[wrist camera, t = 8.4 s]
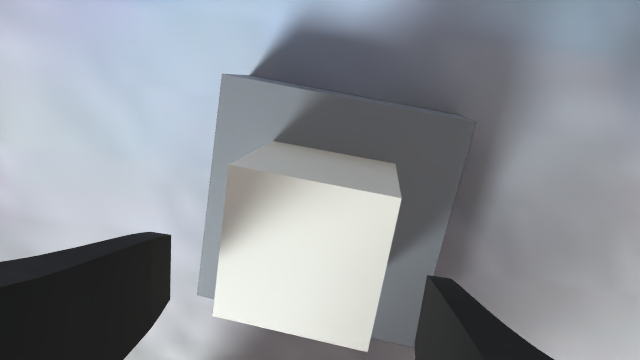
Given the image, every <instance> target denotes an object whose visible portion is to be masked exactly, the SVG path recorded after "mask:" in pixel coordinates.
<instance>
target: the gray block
mask: <svg viewBox="0 0 640 360" xmlns="http://www.w3.org/2000/svg"><path fill="white" fill-rule="evenodd" d="M475 124H476V122H474V121H472V120H470V119H467V118H465V117H462V116H460V115H456V114H451V113H446V112H441V111H435V110H430V109H425V108H419V107H414V106H409V105H404V104H398V103H393V102H388V101H382V100H377V99H372V98H367V97H361V96H356V95H351V94H345V93H340V92H335V91H330V90H324V89H319V88H314V87H308V86H303V85H298V84H292V83H287V82H282V81H277V80H271V79H266V78H261V77H255V76H250V75H233V74H222V79H221V87H220V96H219V105H218V114H217V123H216V132H215V140H214V149H213V158H212V167H211V176H210V185H209V194H208V202H207V211H206V220H205V229H204V238H203V247H202V255H201V264H200V273H199V282H198V291H197V295H198V296H203V297H207V298H211V299H214V298H215V288H216V279H217V269H218V260H219V251H220V241H221V232H222V222H223V213H224V204H225V194H226V185H227V175H228V166H229V164H231V163H233V162H235V161H237V160H238V159H240V158H242V157H244V156H246V155H248V154H250V153H251V152H253V151H255V150H257V149H259V148H261V147H262V146H264V145H266V144H268V143H270V142H272V141H276V142H281V143H287V144H292V145H297V146H303V147H308V148H314V149H319V150H324V151H330V152H335V153H340V154H346V155H351V156H357V157H362V158H367V159H373V160H378V161H384V162H389V163H394V164H395V165H396V170H397V176H398V181H399V187H400V192H401V198H402V199H401V204H400V208H399V213H398V217H397V222H396V226H395V231H394V235H393V240H392V244H391V249H390V253H389V258H388V262H387V267H386V271H385V276H384V280H383V285H382V289H381V294H380V298H379V303H378V307H377V312H376V316H375V321H374V325H373V330H372V334H371V338H375V339H379V340H383V341H387V342H391V343H395V344H400V345H404V346H408V347H412V348H414V344H415V338H416V332H417V327H418V321H419V316H420V310H421V305H422V300H423V294H424V289H425V283H426V278H427V275H429V276H434V272H435V268H436V265H437V261H438V258H439V254H440V250H441V247H442V243H443V240H444V236H445V232H446V229H447V225H448V221H449V218H450V214H451V211H452V207H453V203H454V200H455V196H456V192H457V189H458V185H459V182H460V178H461V174H462V171H463V167H464V164H465V160H466V156H467V153H468V149H469V145H470V142H471V138H472V135H473V131H474V127H475Z"/></svg>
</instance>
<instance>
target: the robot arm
mask: <svg viewBox="0 0 640 360" xmlns="http://www.w3.org/2000/svg"><path fill="white" fill-rule="evenodd" d="M170 270H171V235H168V234H161V233H155V232H144V233H137V234H131V235H127V236H122V237H118V238H113V239H109V240H105V241H101V242H97V243H93V244H88V245H84V246H80V247H76V248H71V249H66V250H62V251H57V252H52V253H48V254H43V255H39V256H33V257H28V258H22V259H16V260H10V261H3V262H0V360H123V359H124V358H125V357H126V356H127V355H128V354H129V353H130V352H131V351H132V349H133V348H134V347H135V346H136V345H137V344H138V343H139V341H140V340H141V339H142V338H143V337H144V336H145V335H146V333H147V332H148V331H149V330H150V329H151V328H152V326H153V325H154V323H155V322H156V320H157V319H158V317H159V316H160V315H161V313H162V311H163V310H164V308H165V307H166V305H167V303H168V302H169V300H170ZM415 360H554V359H552V358H551V357H549V356H548V355H546V354H545V353H543V352H542V351H540V350H538V349H537V348H536V347H534V346H533V345H531V344H530V343H529V342H527V341H526V340H524V339H523V338H522V337H520V336H519V335H518V334H517V333H515V332H514V331H513V330H511V329H510V328H509V327H507V326H506V325H505V324H504V323H502V322H501V321H500V320H499V319H497V318H496V317H495V316H494V315H493V314H491V313H490V312H489V311H488V310H487V309H486V308H484V307H483V306H482V305H481V304H480V303H479V302H478V301H477V300H475V299H474V298H473V297H472V296H471V295H470V294H469V293H467V292H466V291H465V290H464V289H463V288H462V287H461V286H459V285H458V284H457V283H456V282H454V281H453V280H452V279H448V278H442V277H436V276H429V275H427V278H426V283H425V289H424V294H423V300H422V305H421V310H420V316H419V321H418V327H417V332H416V338H415Z"/></svg>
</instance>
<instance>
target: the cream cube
mask: <svg viewBox="0 0 640 360" xmlns="http://www.w3.org/2000/svg"><path fill="white" fill-rule="evenodd" d="M401 199H402V198H401V192H400V187H399V181H398V176H397V170H396V165H395V164H394V163H389V162H384V161H378V160H373V159H367V158H362V157H357V156H351V155H346V154H340V153H335V152H330V151H324V150H319V149H314V148H308V147H303V146H297V145H292V144H287V143H281V142H276V141H272V142H270V143H268V144H266V145H264V146H262V147H261V148H259V149H257V150H255V151H253V152H251V153H250V154H248V155H246V156H244V157H242V158H240V159H238V160H237V161H235V162H233V163H231V164H229V166H228V175H227V185H226V194H225V204H224V213H223V222H222V232H221V241H220V251H219V260H218V269H217V279H216V288H215V298H214V307H213V316H215V317H219V318H224V319H228V320H232V321H236V322H241V323H245V324H249V325H254V326H258V327H262V328H266V329H271V330H275V331H279V332H283V333H288V334H292V335H296V336H301V337H305V338H309V339H313V340H318V341H322V342H326V343H330V344H335V345H339V346H343V347H348V348H352V349H356V350H360V351H365V352H368V348H369V343H370V339H371V334H372V330H373V325H374V321H375V316H376V312H377V307H378V303H379V298H380V294H381V289H382V285H383V280H384V276H385V271H386V267H387V262H388V258H389V253H390V249H391V244H392V240H393V235H394V231H395V226H396V222H397V217H398V213H399V208H400V204H401Z"/></svg>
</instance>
